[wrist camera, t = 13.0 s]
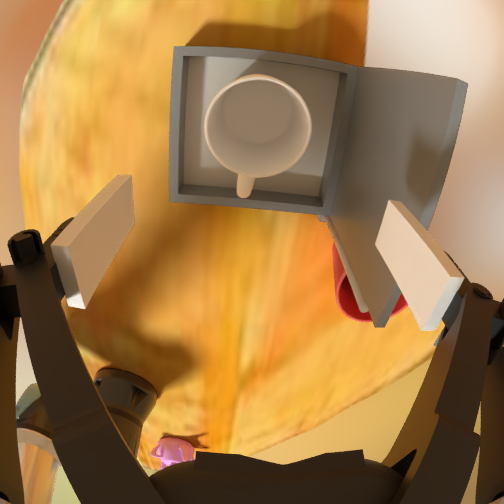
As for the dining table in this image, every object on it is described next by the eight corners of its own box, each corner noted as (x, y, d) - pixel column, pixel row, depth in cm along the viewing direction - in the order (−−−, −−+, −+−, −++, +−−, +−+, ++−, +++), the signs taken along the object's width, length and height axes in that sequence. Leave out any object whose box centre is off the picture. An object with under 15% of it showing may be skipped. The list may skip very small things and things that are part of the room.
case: (177, 201, 38) (120, 326, 21) (182, 48, 28) (91, 32, 11) (329, 215, 39) (381, 343, 22) (358, 68, 29) (474, 86, 12)
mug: (278, 183, 36) (286, 226, 27) (207, 170, 35) (191, 209, 27) (303, 83, 30) (323, 90, 21) (226, 67, 29) (214, 67, 20)
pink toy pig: (163, 448, 85) (159, 471, 78) (151, 431, 77) (146, 457, 70) (198, 451, 85) (196, 475, 77) (190, 435, 77) (187, 462, 70)
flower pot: (361, 193, 38) (389, 232, 29) (407, 240, 41) (436, 283, 33) (305, 248, 42) (316, 296, 34) (355, 286, 46) (372, 334, 38)
